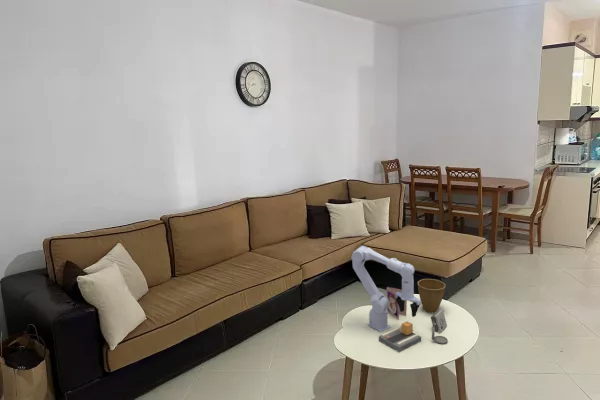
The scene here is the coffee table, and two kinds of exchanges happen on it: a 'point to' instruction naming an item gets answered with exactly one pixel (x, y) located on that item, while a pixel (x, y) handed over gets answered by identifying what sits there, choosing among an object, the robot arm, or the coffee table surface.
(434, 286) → the plant pot
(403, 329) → the block
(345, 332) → the coffee table surface
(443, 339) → the pocket watch
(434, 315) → the electrical switch
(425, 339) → the coffee table surface
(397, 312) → the greeting card
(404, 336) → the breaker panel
